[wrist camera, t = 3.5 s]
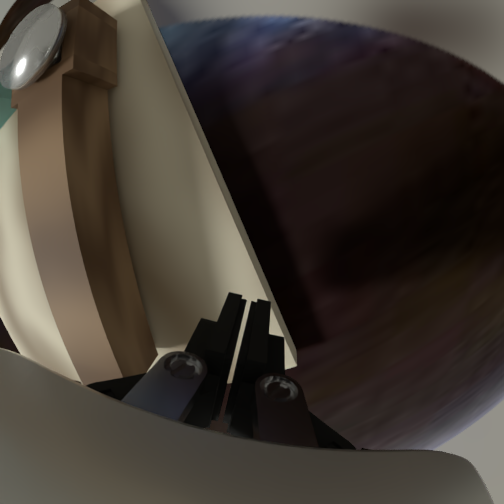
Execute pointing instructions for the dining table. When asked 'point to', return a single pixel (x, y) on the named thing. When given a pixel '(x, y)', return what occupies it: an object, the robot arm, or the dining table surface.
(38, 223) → the link
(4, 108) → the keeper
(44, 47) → the disc
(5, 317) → the board
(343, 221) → the dining table surface
